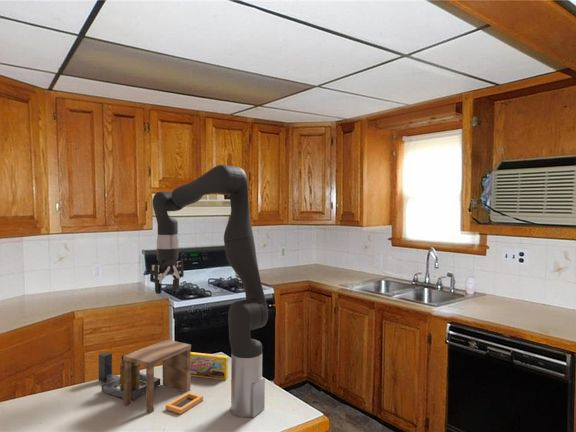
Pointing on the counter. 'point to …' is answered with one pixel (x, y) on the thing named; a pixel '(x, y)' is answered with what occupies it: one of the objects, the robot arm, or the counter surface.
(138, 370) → the condiment
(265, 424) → the counter surface
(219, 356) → the candy box
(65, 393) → the counter surface
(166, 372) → the wooden side table
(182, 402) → the pit trap
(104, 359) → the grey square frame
